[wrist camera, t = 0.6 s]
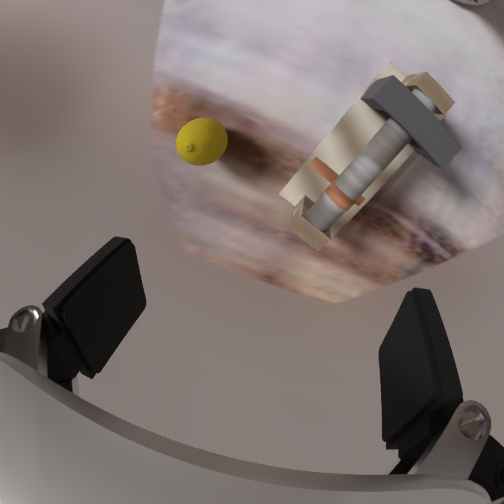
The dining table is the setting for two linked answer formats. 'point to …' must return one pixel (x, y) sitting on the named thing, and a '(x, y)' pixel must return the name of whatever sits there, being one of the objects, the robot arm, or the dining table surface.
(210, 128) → the lemon
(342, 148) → the pipe stand
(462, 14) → the dining table surface
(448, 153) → the grey frame
